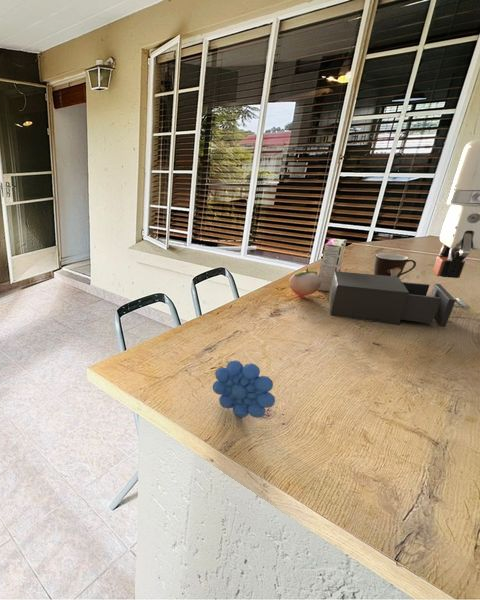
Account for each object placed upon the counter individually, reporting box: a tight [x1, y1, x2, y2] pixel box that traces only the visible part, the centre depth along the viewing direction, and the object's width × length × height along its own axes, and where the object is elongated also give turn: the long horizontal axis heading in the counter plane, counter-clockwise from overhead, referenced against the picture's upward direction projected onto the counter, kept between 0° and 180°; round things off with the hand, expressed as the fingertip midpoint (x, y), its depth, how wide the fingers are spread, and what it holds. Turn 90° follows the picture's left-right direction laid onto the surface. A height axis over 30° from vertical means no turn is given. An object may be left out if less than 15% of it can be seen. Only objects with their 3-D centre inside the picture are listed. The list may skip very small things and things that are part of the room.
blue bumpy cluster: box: [212, 359, 276, 419], centre depth 64 cm, size 12×7×12 cm, turn 35°
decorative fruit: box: [288, 268, 321, 298], centre depth 116 cm, size 9×8×10 cm
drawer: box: [400, 281, 471, 328], centre depth 98 cm, size 19×13×8 cm
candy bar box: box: [317, 238, 348, 293], centre depth 122 cm, size 11×5×16 cm, turn 137°
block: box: [432, 256, 466, 279], centre depth 85 cm, size 4×4×4 cm
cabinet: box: [328, 271, 409, 326], centre depth 104 cm, size 16×15×10 cm
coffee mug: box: [373, 253, 417, 278], centre depth 122 cm, size 12×9×10 cm
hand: (446, 273), depth 86 cm, fingers closed on block, 4 cm apart
